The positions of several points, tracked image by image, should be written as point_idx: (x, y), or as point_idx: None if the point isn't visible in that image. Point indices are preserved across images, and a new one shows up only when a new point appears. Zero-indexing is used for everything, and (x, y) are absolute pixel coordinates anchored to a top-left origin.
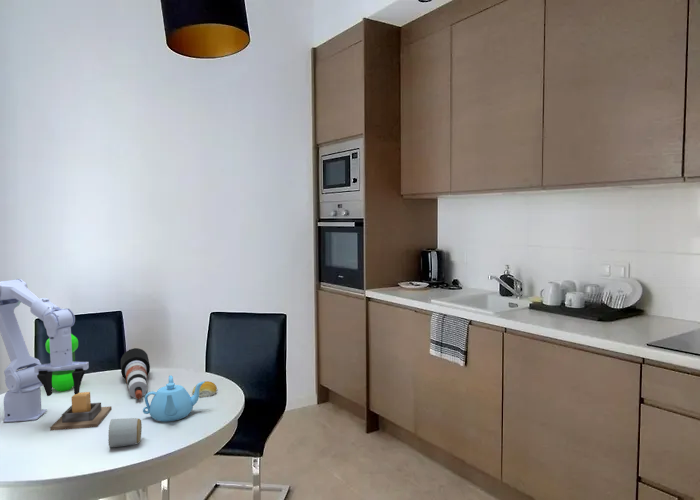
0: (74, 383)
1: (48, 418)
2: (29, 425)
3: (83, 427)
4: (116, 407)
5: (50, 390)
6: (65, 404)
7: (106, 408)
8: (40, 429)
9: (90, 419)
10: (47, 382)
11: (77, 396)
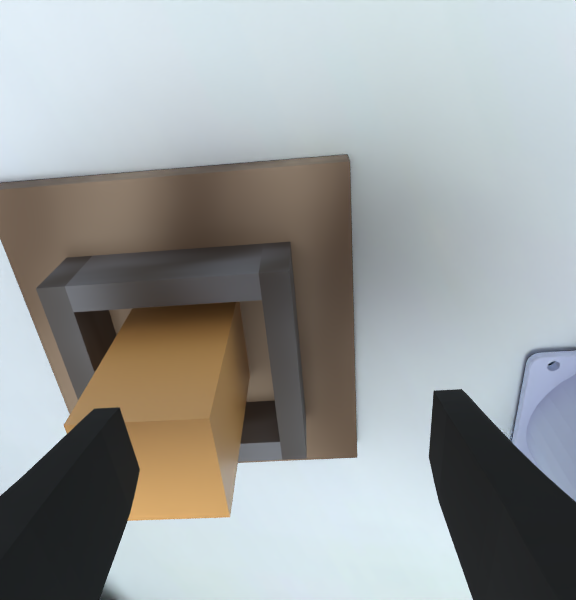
0: (15, 529)
1: (453, 373)
2: (550, 274)
3: (96, 175)
4: None
5: (447, 471)
6: (426, 540)
7: None
8: (439, 188)
9: (75, 260)
10: (521, 571)
11: (153, 430)
